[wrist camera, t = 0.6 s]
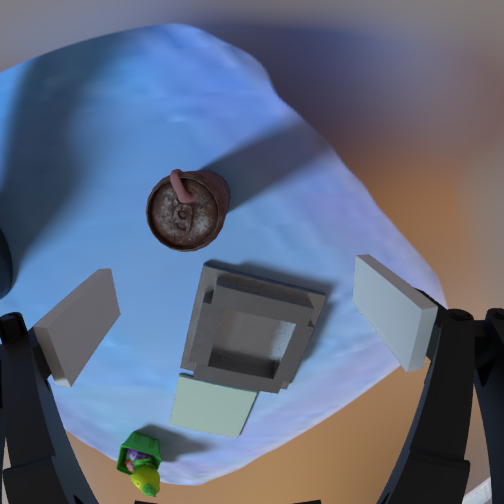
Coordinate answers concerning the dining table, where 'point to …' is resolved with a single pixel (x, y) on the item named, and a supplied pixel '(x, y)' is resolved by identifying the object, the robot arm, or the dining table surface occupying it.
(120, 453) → the fruit basket
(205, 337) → the socket block
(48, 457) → the robot arm
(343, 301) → the dining table surface
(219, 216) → the can
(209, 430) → the mat
